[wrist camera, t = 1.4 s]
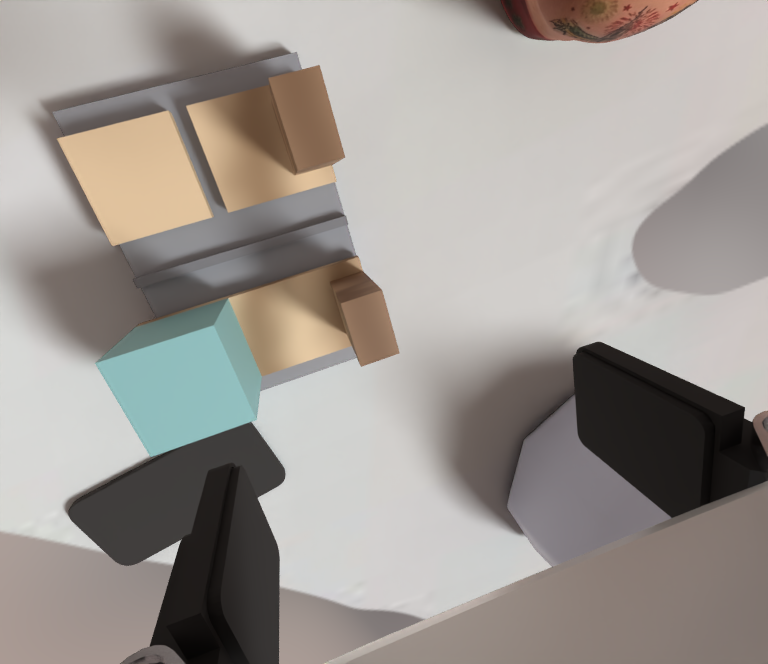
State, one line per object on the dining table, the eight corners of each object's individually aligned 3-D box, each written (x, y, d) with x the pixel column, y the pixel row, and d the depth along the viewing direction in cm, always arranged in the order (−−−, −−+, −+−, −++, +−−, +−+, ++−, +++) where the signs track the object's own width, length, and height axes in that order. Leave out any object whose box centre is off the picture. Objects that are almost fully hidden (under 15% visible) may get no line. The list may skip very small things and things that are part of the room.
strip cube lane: (356, 255, 29) (377, 272, 22) (379, 332, 31) (403, 367, 25) (139, 323, 27) (95, 363, 21) (179, 400, 29) (150, 457, 23)
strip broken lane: (305, 79, 25) (312, 39, 18) (335, 181, 27) (350, 178, 21) (188, 108, 24) (154, 78, 18) (229, 212, 26) (212, 218, 20)
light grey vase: (638, 536, 48) (843, 734, 30) (485, 549, 43) (625, 795, 25) (700, 378, 42) (996, 510, 24) (531, 372, 37) (753, 532, 19)
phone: (291, 480, 34) (125, 571, 33) (291, 473, 35) (128, 562, 34) (243, 413, 31) (60, 510, 30) (243, 408, 32) (65, 503, 31)
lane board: (296, 57, 25) (297, 46, 23) (380, 344, 33) (386, 353, 31) (61, 115, 24) (41, 108, 22) (205, 404, 31) (200, 418, 29)
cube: (228, 298, 27) (213, 325, 21) (261, 376, 29) (256, 419, 23) (135, 327, 26) (95, 363, 21) (176, 405, 28) (150, 457, 23)
